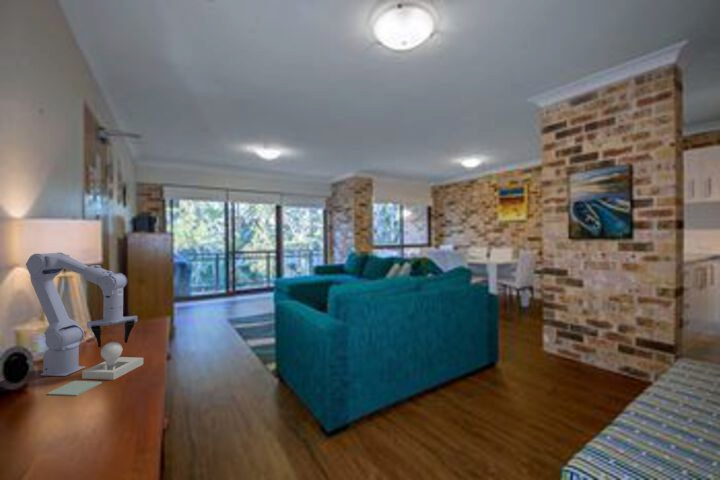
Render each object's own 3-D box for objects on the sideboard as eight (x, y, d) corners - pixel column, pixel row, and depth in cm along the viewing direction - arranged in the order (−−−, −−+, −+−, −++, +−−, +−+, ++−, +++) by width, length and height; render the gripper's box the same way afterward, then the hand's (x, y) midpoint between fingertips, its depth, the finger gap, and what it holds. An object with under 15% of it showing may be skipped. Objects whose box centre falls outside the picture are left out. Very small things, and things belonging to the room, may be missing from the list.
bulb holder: (82, 378, 112) (82, 371, 112) (115, 363, 126) (115, 356, 126) (113, 379, 112) (113, 372, 112) (143, 364, 126) (143, 357, 126)
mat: (46, 394, 101) (46, 393, 101) (74, 381, 110) (74, 380, 110) (76, 395, 100) (76, 394, 100) (101, 383, 109) (101, 381, 109)
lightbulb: (110, 376, 114) (110, 345, 114) (95, 375, 115) (96, 344, 115) (126, 369, 120) (127, 340, 120) (112, 368, 122) (112, 339, 122)
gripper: (88, 311, 110) (87, 351, 110) (139, 306, 120) (138, 342, 120) (86, 308, 115) (86, 346, 115) (135, 303, 125) (135, 338, 125)
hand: (112, 344), depth 118 cm, fingers open, 7 cm apart
